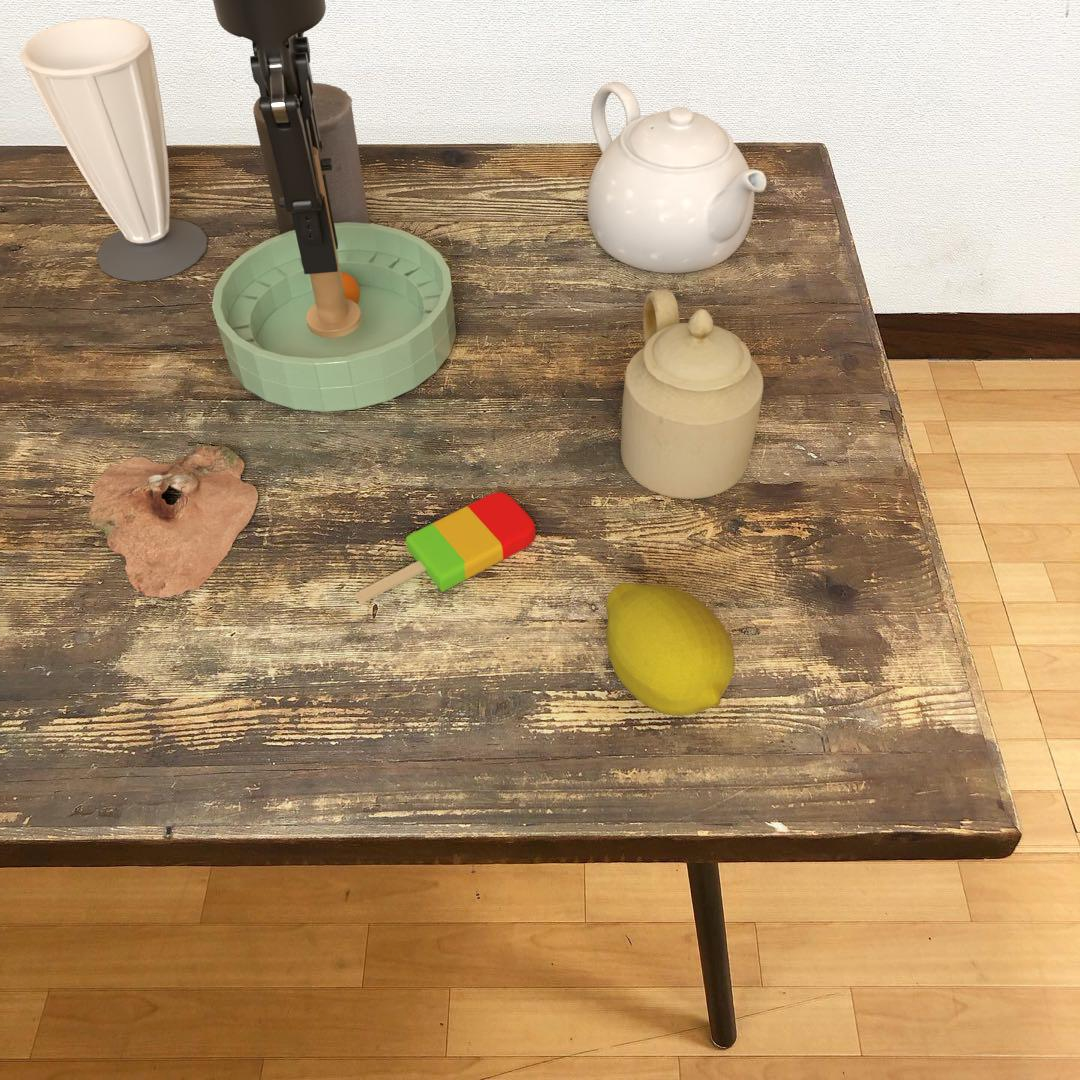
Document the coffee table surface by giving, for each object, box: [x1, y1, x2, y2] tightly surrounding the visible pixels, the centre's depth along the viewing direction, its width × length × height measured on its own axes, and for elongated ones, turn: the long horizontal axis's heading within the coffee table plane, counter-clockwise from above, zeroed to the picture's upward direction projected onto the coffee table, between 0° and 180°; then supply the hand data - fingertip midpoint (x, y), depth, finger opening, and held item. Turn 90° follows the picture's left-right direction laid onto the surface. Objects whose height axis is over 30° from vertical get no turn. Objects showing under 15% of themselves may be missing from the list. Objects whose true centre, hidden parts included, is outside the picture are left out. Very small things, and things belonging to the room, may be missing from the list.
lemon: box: [605, 582, 736, 717], centre depth 73 cm, size 11×8×8 cm
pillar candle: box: [252, 82, 370, 235], centre depth 110 cm, size 10×10×15 cm
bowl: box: [211, 222, 457, 413], centre depth 100 cm, size 22×22×6 cm
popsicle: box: [354, 491, 537, 604], centre depth 83 cm, size 6×15×2 cm, turn 125°
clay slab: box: [88, 445, 259, 599], centre depth 85 cm, size 15×13×3 cm
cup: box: [19, 16, 209, 283], centre depth 105 cm, size 12×12×22 cm
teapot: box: [586, 81, 768, 274], centre depth 108 cm, size 19×18×14 cm
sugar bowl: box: [620, 288, 764, 500], centre depth 86 cm, size 15×11×15 cm
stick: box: [306, 147, 362, 338], centre depth 88 cm, size 5×5×16 cm
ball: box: [341, 272, 360, 304], centre depth 103 cm, size 4×4×4 cm
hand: (321, 258), depth 90 cm, fingers closed on stick, 2 cm apart
